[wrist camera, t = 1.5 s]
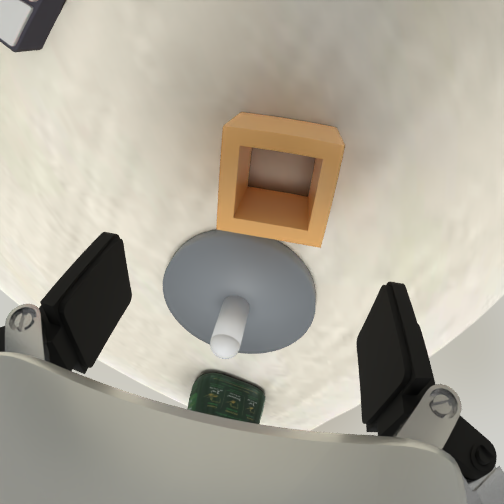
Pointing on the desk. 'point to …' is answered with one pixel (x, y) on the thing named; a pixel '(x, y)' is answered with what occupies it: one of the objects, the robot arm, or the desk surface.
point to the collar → (274, 202)
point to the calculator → (27, 22)
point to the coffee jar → (226, 398)
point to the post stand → (240, 292)
